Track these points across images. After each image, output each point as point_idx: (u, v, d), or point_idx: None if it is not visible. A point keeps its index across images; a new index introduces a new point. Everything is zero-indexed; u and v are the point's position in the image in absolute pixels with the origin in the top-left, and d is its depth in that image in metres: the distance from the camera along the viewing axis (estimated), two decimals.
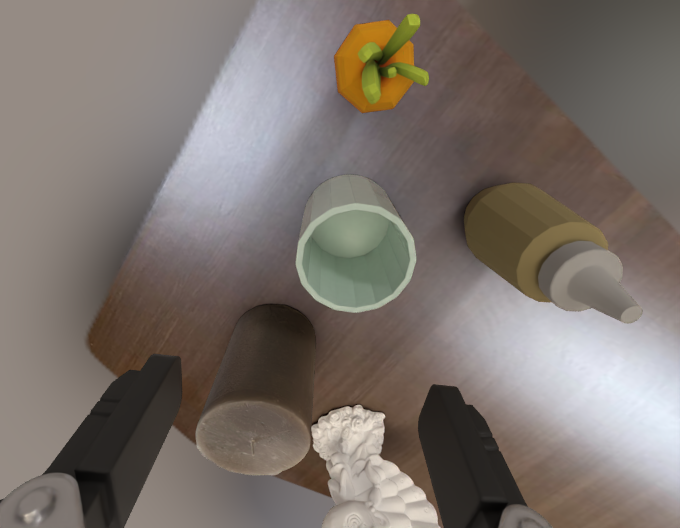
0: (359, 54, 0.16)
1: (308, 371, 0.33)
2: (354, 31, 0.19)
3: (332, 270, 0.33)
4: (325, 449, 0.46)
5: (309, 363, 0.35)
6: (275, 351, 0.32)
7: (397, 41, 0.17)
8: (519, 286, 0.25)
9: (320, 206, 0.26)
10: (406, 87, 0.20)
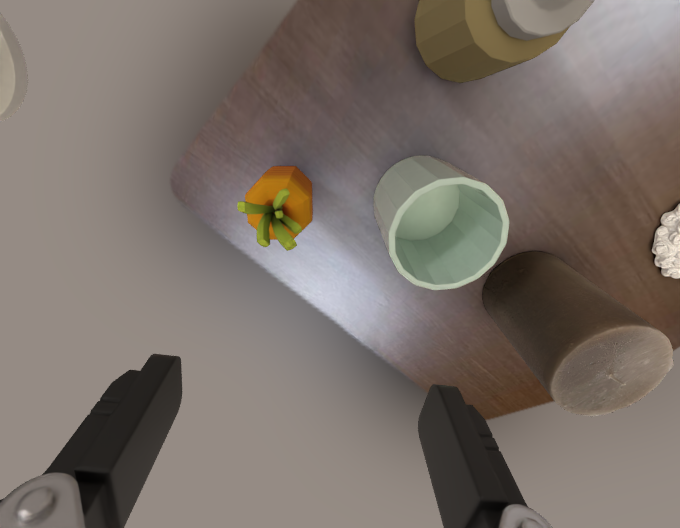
0: (263, 246, 0.21)
1: (565, 287, 0.31)
2: (252, 225, 0.24)
3: (461, 236, 0.32)
4: None
5: (559, 280, 0.32)
6: (526, 312, 0.32)
7: (256, 214, 0.21)
8: (538, 54, 0.19)
9: None
10: (294, 186, 0.23)
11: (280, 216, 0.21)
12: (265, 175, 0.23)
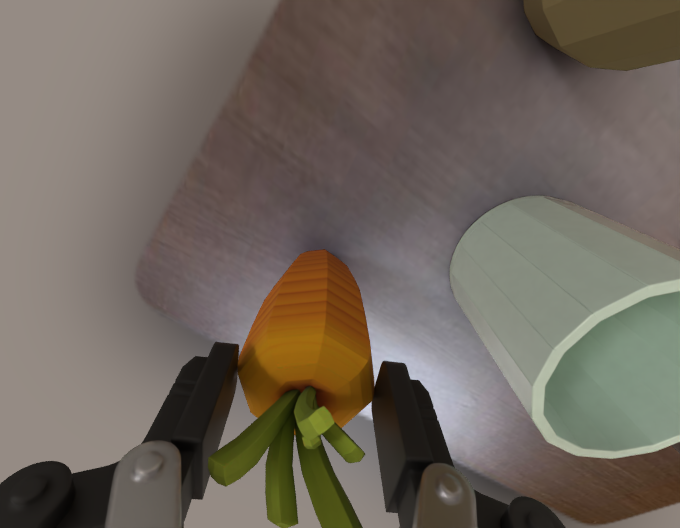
0: None
1: None
2: None
3: (613, 324, 0.19)
4: None
5: None
6: None
7: None
8: None
9: None
10: (335, 347, 0.11)
11: (315, 446, 0.09)
12: (273, 324, 0.11)
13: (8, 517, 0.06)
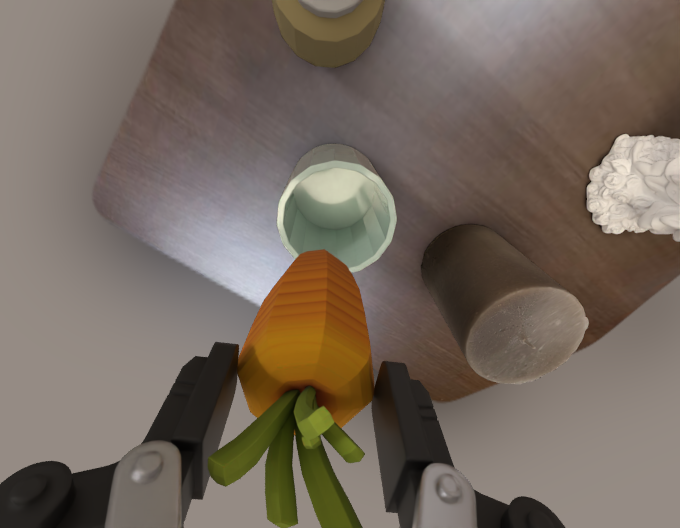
0: None
1: (481, 257, 0.30)
2: None
3: (374, 218, 0.32)
4: None
5: (477, 251, 0.31)
6: (447, 287, 0.32)
7: None
8: (362, 29, 0.19)
9: None
10: (335, 347, 0.11)
11: (315, 446, 0.09)
12: (272, 324, 0.11)
13: (9, 518, 0.06)
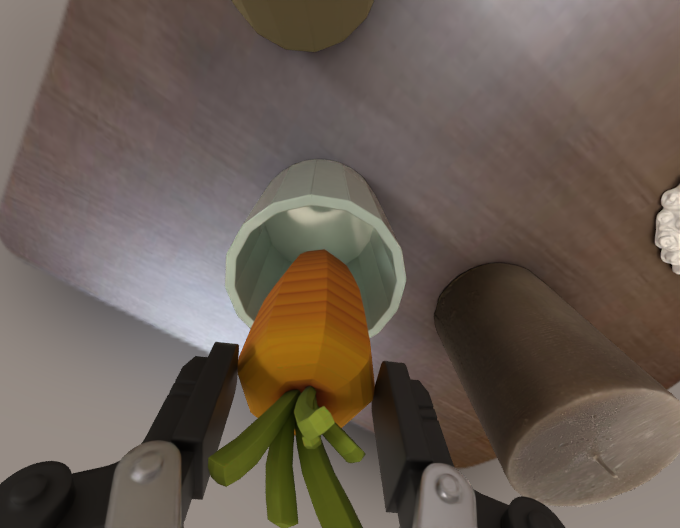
0: None
1: (523, 321, 0.22)
2: None
3: (372, 262, 0.23)
4: None
5: (516, 310, 0.23)
6: (474, 359, 0.23)
7: None
8: None
9: None
10: (335, 347, 0.11)
11: (315, 446, 0.09)
12: (273, 324, 0.11)
13: (9, 518, 0.06)
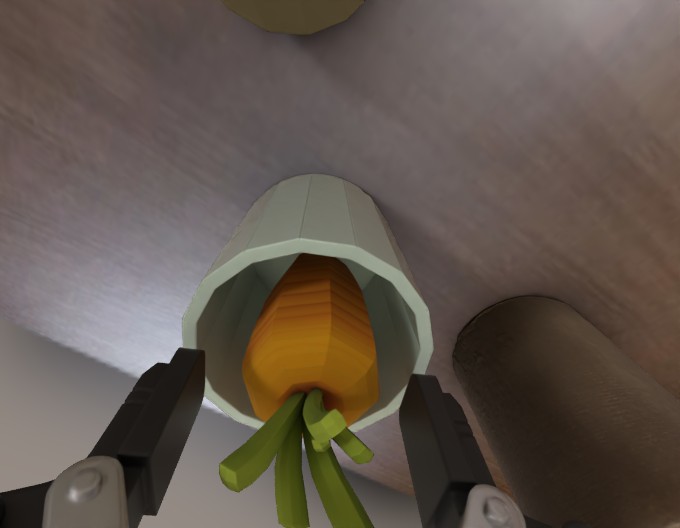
0: None
1: (577, 384, 0.17)
2: None
3: (382, 304, 0.19)
4: None
5: (564, 366, 0.18)
6: (512, 429, 0.18)
7: None
8: None
9: None
10: (342, 348, 0.11)
11: (325, 449, 0.09)
12: (278, 326, 0.11)
13: None
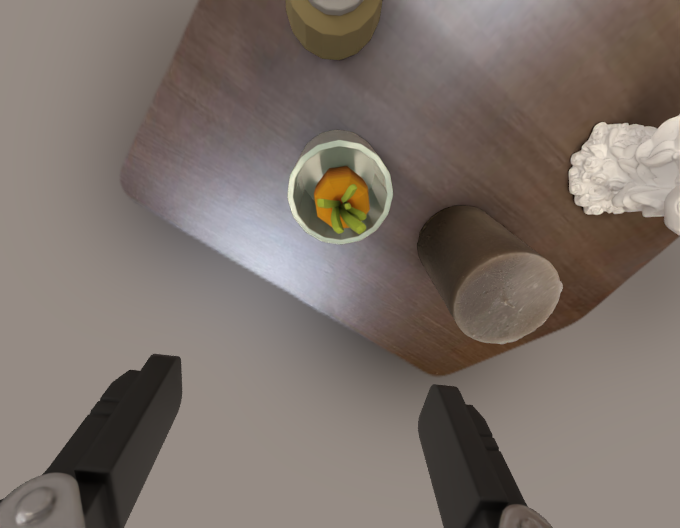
0: (339, 233, 0.26)
1: (469, 231, 0.34)
2: (321, 218, 0.29)
3: (373, 197, 0.36)
4: None
5: (466, 226, 0.35)
6: (439, 258, 0.35)
7: (331, 207, 0.26)
8: (362, 25, 0.23)
9: None
10: (354, 182, 0.28)
11: (349, 207, 0.26)
12: (329, 176, 0.28)
13: None
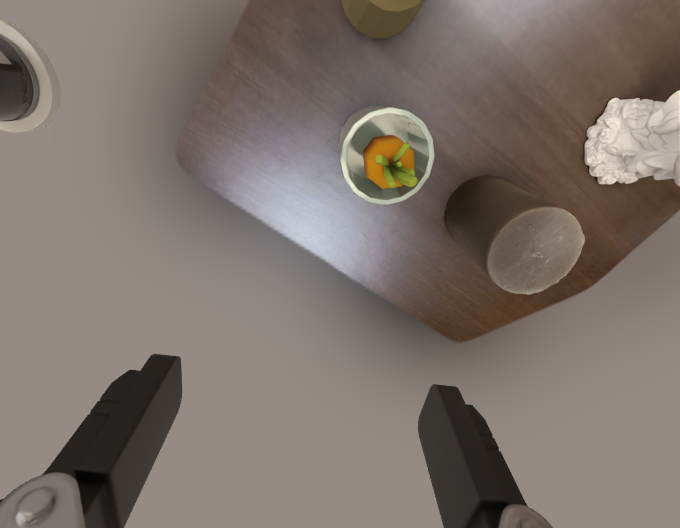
0: (392, 187, 0.30)
1: (498, 194, 0.38)
2: (372, 179, 0.33)
3: None
4: None
5: (494, 191, 0.39)
6: (470, 220, 0.39)
7: (386, 164, 0.29)
8: (418, 2, 0.27)
9: None
10: (403, 145, 0.32)
11: (401, 165, 0.30)
12: (380, 140, 0.32)
13: None
